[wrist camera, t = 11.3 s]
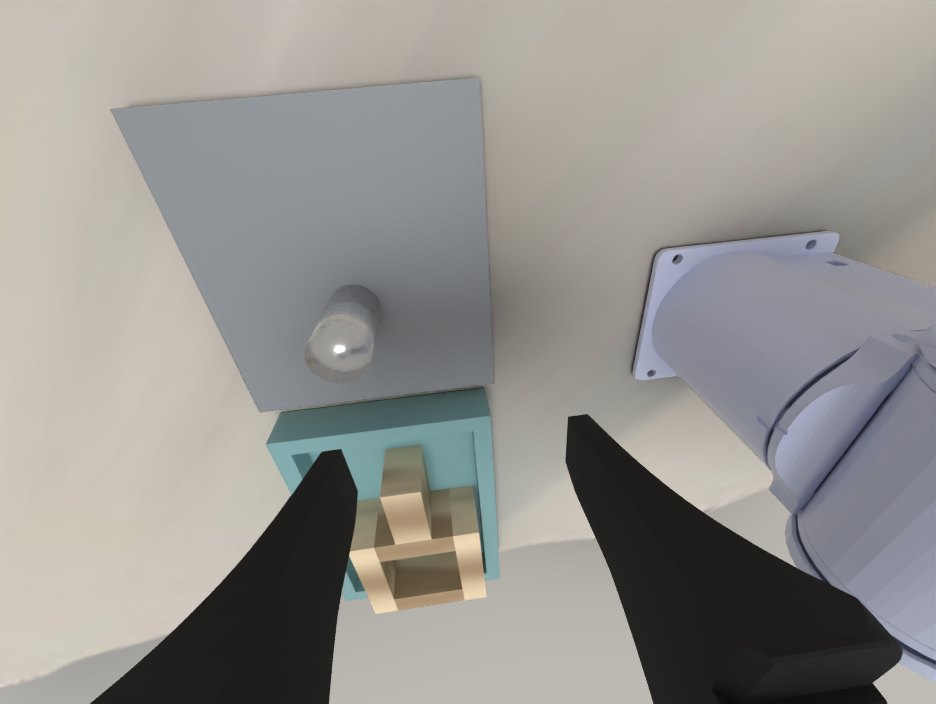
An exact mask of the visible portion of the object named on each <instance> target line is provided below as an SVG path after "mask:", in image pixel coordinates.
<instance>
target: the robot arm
mask: <svg viewBox="0 0 936 704" xmlns="http://www.w3.org/2000/svg"><path fill="white" fill-rule="evenodd" d="M809 241H810V242H809ZM808 242H809V244H808V245H807V243H808ZM838 242H839V234H838V233H836V232H833V231H822V232H813V233H803V234H794V235H785V236H776V237H767V238H758V239H748V240H739V241H730V242H721V243H712V244H703V245H693V246H684V247H675V248H666V249H663V250H661V251H660V252H658V254H657V255H656V257H655V259H654V264H653V269H652V274H651V279H650V285H649V290H648V295H647V300H646V305H645V310H644V315H643V320H642V326H641V331H640V336H639V341H638V346H637V351H636V356H635V362H634V367H633V372H632V373H633V376H634V377H635V378H636V379H637V380H640V381H642V380H650V379H658V378H666V377H674V376H679V377H680V378H681V379H682V380H683V381H684V382H685V383H686V384H687V385H688V386H689V387H690V388H691V389H692V390H693V391H694V392H695V393H696V394H697V395H698V397H699V398H700V399H701V400H702V401H703V402H704V403H705V404H706V405H707V406H708V407H709V408H710V409H711V410H712V411H713V412H714V413H715V414H716V415H717V416H718V417H719V418H720V419H721V420H722V421H723V422H724V423H725V424H726V425H727V426H728V427H729V428H730V429H731V430H732V431H733V432H734V433H735V434H736V435H737V436H738V437H739V438H740V440H741V441H742V442H743V443H744V444H745V445H746V446H747V447H748V448H749V449H750V450H751V451H752V452H753V453H754V454H755V455H756V456H757V457H758V458H759V459H760V460H761V461H762V462H763V463H764V464H765V465H766V466H767V467H768V468H769V469H770V470H771V471H772V473H773V482H772V484H771V486H770V488H769V490H770V491H771V492H772V493H773V494H774V495H775V496H776V497H777V499H778V500H779V501H780V502H781V503H782V504H783V505H784V506H785V507H786V508H787V509H788V510H789V511H790V512H791V514H790V516H789V518H788V520H787V524H786V529H785V536H786V543H787V547H788V550H789V553H790V556H791V558H792V559H793V561H794V563H795V565H796V567H797V568H796V567H794V566H792V565H790V564H789V563H787V562H785V561H783V560H781V559H779V558H778V557H776V556H774V555H772V554H770V553H768V552H767V551H765V550H763V549H761V548H759V547H758V546H756V545H754V544H753V543H751V542H749V541H748V540H746V539H744V538H743V537H741V536H740V535H738V534H736V533H735V532H733V531H731V530H730V529H728V528H726V527H725V526H723V525H721V524H720V523H718V522H717V521H715V520H714V519H712V518H711V517H709V516H708V515H706V514H705V513H703V512H702V511H700V510H699V509H698V508H696V507H695V506H693V505H692V504H691V503H689V502H688V501H686V500H685V499H684V498H682V497H681V496H680V495H678V494H677V493H676V492H674V491H673V490H672V489H670V488H669V487H668V486H667V485H665V484H664V483H663V482H662V481H660V480H659V479H658V478H657V477H655V476H654V475H653V474H652V473H651V472H649V471H648V470H647V469H646V468H645V467H643V466H642V465H641V464H640V463H639V462H638V461H637V460H635V459H634V458H633V457H632V456H631V455H630V454H629V453H628V452H626V451H625V450H624V449H623V448H622V447H621V446H620V445H619V444H618V443H617V442H616V441H615V440H614V439H613V438H611V437H610V436H609V435H608V434H607V433H606V432H605V431H604V430H603V429H602V428H601V427H600V426H599V425H598V424H597V423H596V422H595V421H594V420H593V419H592V418H591V417H590V416H589V415H587V414H585V415H578V416H571V417H568V429H567V445H566V464H567V468H568V471H569V474H570V477H571V481H572V484H573V487H574V490H575V492H576V495H577V497H578V499H579V502H580V504H581V506H582V508H583V511H584V513H585V515H586V517H587V519H588V522H589V524H590V526H591V528H592V531H593V533H594V535H595V537H596V539H597V541H598V544H599V546H600V548H601V550H602V552H603V555H604V557H605V559H606V562H607V564H608V567H609V569H610V572H611V574H612V577H613V580H614V582H615V585H616V588H617V591H618V594H619V597H620V600H621V603H622V606H623V609H624V612H625V615H626V618H627V621H628V624H629V627H630V630H631V633H632V636H633V639H634V642H635V645H636V648H637V651H638V655H639V658H640V661H641V664H642V668H643V671H644V674H645V677H646V680H647V683H648V687H649V690H650V693H651V697H652V700H653V704H887V702H886V700H885V698H884V697H883V696H882V695H881V693H880V692H879V691H878V689H877V688H876V687H875V686H874V685H873V682H874V681H875V680H877V679H878V678H879V677H881V676H882V675H883V674H884V673H886V672H887V671H889V670H890V669H891V668H892V667H894V666H895V665H896V664H897V663H900V664H901V665H903V666H905V667H907V668H909V669H910V670H912V671H914V672H916V673H918V674H920V675H921V676H923V677H925V678H927V679H930V680H932V681H935V682H936V287H933V286H930V285H927V284H924V283H921V282H918V281H915V280H912V279H909V278H906V277H903V276H900V275H897V274H894V273H891V272H888V271H885V270H882V269H880V268H877V267H874V266H871V265H868V264H865V263H862V262H859V261H856V260H853V259H850V258H847V257H844V256H841V255H838V254H835V253H834V250H835V248H836V246H837V244H838ZM806 245H807V246H806ZM676 255H678V258H677V259H676V260H675V261H673V262H672V260H673V257H674V256H676ZM650 370H652V371H651V372H649V371H650ZM648 372H649V373H648ZM357 498H358V490H357V487H356V485H355V482H354V480H353V477H352V475H351V472H350V470H349V467H348V465H347V462H346V460H345V457H344V455H343V452H342V450H341V449H337V450H330V451H323V452H321V453H320V454H319V456H318V457H317V459H316V460H315V462H314V463H313V465H312V466H311V467H310V469H309V470H308V472H307V473H306V475H305V476H304V478H303V479H302V481H301V482H300V484H299V485H298V487H297V488H296V489H295V491H294V492H293V494H292V495H291V496H290V498H289V499H288V501H287V502H286V503H285V505H284V506H283V508H282V509H281V510H280V512H279V513H278V514H277V516H276V517H275V518H274V520H273V521H272V522H271V524H270V525H269V526H268V527H267V529H266V530H265V531H264V533H263V534H262V535H261V536H260V538H259V539H258V540H257V541H256V543H255V544H254V545H253V546H252V548H251V549H250V550H249V551H248V552H247V554H246V555H245V556H244V557H243V558H242V560H241V561H240V562H239V563H238V564H237V565H236V567H235V568H234V569H233V570H232V571H231V572H230V573H229V574H228V575H227V577H226V578H225V579H224V580H223V581H222V582H221V583H220V584H219V585H218V586H217V587H216V588H215V590H214V591H213V592H212V593H211V594H210V595H209V596H208V597H207V598H206V599H205V600H204V601H203V602H202V603H201V604H200V605H199V606H198V607H197V608H196V609H195V610H194V611H193V612H192V613H191V614H190V615H189V616H188V617H187V618H186V619H185V620H184V621H183V622H182V623H181V624H180V625H179V626H178V627H177V628H176V629H175V630H174V631H173V632H171V633H170V634H169V635H168V636H167V637H166V638H165V639H164V640H163V641H162V642H161V643H160V644H159V645H158V646H157V647H155V649H153V650H152V651H151V652H150V653H149V654H148V655H146V656H145V657H144V658H143V659H142V660H141V661H140V662H139V663H138V664H136V665H135V666H134V667H133V668H132V669H131V670H130V671H128V672H127V673H126V674H125V675H124V676H123V677H121V678H120V679H119V680H118V681H117V682H115V683H114V684H113V685H112V686H111V687H110V688H108V689H107V690H106V691H105V692H103V693H102V694H101V695H100V696H99V697H98V698H96V699H95V700H94V701H93V702H92V703H90V704H329V695H330V684H331V673H332V662H333V652H334V643H335V634H336V624H337V616H338V610H339V604H340V598H341V593H342V588H343V583H344V578H345V573H346V569H347V564H348V559H349V554H350V549H351V544H352V539H353V534H354V528H355V522H356V511H357Z"/></svg>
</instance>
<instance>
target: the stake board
mask: <svg viewBox="0 0 936 704" xmlns="http://www.w3.org/2000/svg"><path fill="white" fill-rule="evenodd" d="M110 110H111V112H112V114H113V116H114V118H115V120H116V122H117V124H118V126H119V128H120V130H121V132H122V134H123V136H124V138H125V140H126V142H127V144H128V146H129V148H130V150H131V153H132V155H133V157H134V159H135V161H136V163H137V165H138V167H139V169H140V171H141V173H142V175H143V177H144V179H145V181H146V183H147V185H148V187H149V189H150V191H151V193H152V195H153V197H154V199H155V201H156V203H157V205H158V207H159V209H160V211H161V213H162V215H163V218H164V220H165V222H166V224H167V226H168V228H169V230H170V232H171V234H172V236H173V238H174V240H175V242H176V244H177V246H178V248H179V250H180V252H181V254H182V256H183V258H184V260H185V262H186V264H187V266H188V268H189V270H190V272H191V274H192V276H193V278H194V280H195V282H196V285H197V287H198V289H199V291H200V293H201V295H202V297H203V299H204V301H205V303H206V305H207V307H208V309H209V311H210V313H211V315H212V317H213V319H214V321H215V323H216V325H217V327H218V329H219V331H220V333H221V335H222V337H223V339H224V341H225V343H226V345H227V347H228V349H229V352H230V354H231V356H232V358H233V360H234V362H235V364H236V366H237V368H238V370H239V372H240V374H241V376H242V378H243V380H244V382H245V384H246V386H247V388H248V390H249V392H250V394H251V396H252V398H253V400H254V402H255V404H256V406H257V408H258V410H259V412H267V411H275V410H283V409H291V408H299V407H307V406H315V405H324V404H332V403H340V402H348V401H356V400H364V399H372V398H380V397H388V396H397V395H405V394H413V393H421V392H429V391H437V390H445V389H453V388H462V387H470V386H478V385H486V384H494V383H495V382H494V361H493V340H492V319H491V298H490V277H489V256H488V234H487V213H486V192H485V171H484V150H483V129H482V108H481V87H480V77H477V78H465V79H454V80H442V81H430V82H419V83H407V84H396V85H384V86H372V87H361V88H349V89H337V90H326V91H314V92H302V93H291V94H279V95H267V96H256V97H244V98H233V99H221V100H209V101H198V102H186V103H174V104H163V105H151V106H139V107H128V108H116V109H110Z"/></svg>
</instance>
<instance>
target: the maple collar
mask: <svg viewBox="0 0 936 704" xmlns="http://www.w3.org/2000/svg"><path fill="white" fill-rule="evenodd" d="M349 557H350V559H351V561H352V563H353V565H354V567H355V570H356V572H357V574H358V576H359V578H360V580H361V583H362V585H363V587H364V589H365V591H366V594H367V596H368V598H369V600H370V602H371V604H372V606H373V609H374V611H375V613H376V614H378V613H385V612H391V611H398V610H404V609H411V608H417V607H424V606H430V605H437V604H443V603H450V602H457V601H463V600H469V599H476V598H482V597H487V596H486V588H485V579H484V571H483V562H482V554H481V545H480V536H479V528H478V521H477V514H476V506H475V499H474V492H473V485H470V486H463V487H456V488H448V489H441V490H434V491H431V490H430V486H429V481H428V476H427V472H426V467H425V462H424V457H423V453H422V448H421V445H413V446H406V447H399V448H391V449H385V456H384V465H383V474H382V483H381V493H380V498H377V499H370V500H363V501H357V511H356V522H355V528H354V534H353V539H352V544H351V549H350V554H349Z"/></svg>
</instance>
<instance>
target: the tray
mask: <svg viewBox="0 0 936 704" xmlns="http://www.w3.org/2000/svg"><path fill="white" fill-rule="evenodd" d="M413 445H421V448H422V453H423V457H424V462H425V467H426V472H427V476H428V481H429V486H430V490H431V491H434V490H441V489H448V488H456V487H463V486H470V485H473V492H474V499H475V506H476V514H477V521H478V528H479V536H480V545H481V554H482V562H483V571H484V579H485V580H492V579H498V578H500V570H499V553H498V536H497V518H496V501H495V484H494V466H493V449H492V432H491V415H490V411H489V407H488V402H487V398H486V393H485V389H484V388H478V389H470V390H462V391H454V392H446V393H437V394H429V395H421V396H413V397H405V398H397V399H389V400H381V401H373V402H365V403H357V404H348V405H340V406H332V407H324V408H316V409H308V410H300V411H292V412H284V413H280V415H279V418H278V420H277V422H276V424H275V426H274V428H273V430H272V432H271V434H270V437H269V439H268V441H267V443H266V446H267V448H268V450H269V451H270V453H271V455H272V457H273V459H274V461H275V463H276V465H277V467H278V469H279V471H280V473H281V475H282V477H283V479H284V481H285V483H286V485H287V487H288V489H289V491H290V493H291V495H292V494H293V492H294V491H295V489H296V488H297V487H298V485H299V484H300V482H301V481H302V479H303V478H304V476H305V475H306V473H307V472H308V470H309V469H310V467H311V466H312V465H313V463H314V462H315V460H316V459H317V457H318V456H319V454H320V453H321V452H323V451H330V450H337V449H341V450H342V452H343V455H344V457H345V460H346V462H347V465H348V467H349V470H350V472H351V475H352V477H353V480H354V482H355V485H356V487H357V490H358V498H357V501H363V500H370V499H377V498H380V493H381V483H382V474H383V465H384V456H385V449H391V448H399V447H406V446H413ZM342 594H343V596H344V598H345V600H346V601H348V600H355V599H361V598H368V596H367V594H366V591H365V589H364V587H363V585H362V583H361V580H360V578H359V576H358V574H357V572H356V570H355V567H354V565H353V563H352V561H351V559H350V557H349V559H348V564H347V569H346V573H345V578H344V583H343V588H342Z"/></svg>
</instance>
